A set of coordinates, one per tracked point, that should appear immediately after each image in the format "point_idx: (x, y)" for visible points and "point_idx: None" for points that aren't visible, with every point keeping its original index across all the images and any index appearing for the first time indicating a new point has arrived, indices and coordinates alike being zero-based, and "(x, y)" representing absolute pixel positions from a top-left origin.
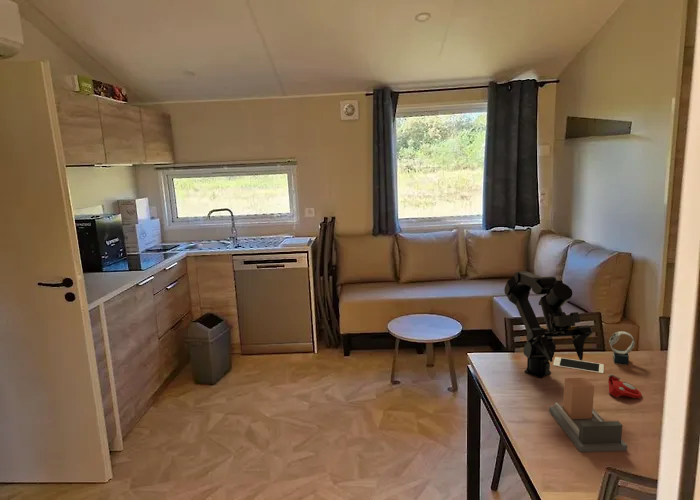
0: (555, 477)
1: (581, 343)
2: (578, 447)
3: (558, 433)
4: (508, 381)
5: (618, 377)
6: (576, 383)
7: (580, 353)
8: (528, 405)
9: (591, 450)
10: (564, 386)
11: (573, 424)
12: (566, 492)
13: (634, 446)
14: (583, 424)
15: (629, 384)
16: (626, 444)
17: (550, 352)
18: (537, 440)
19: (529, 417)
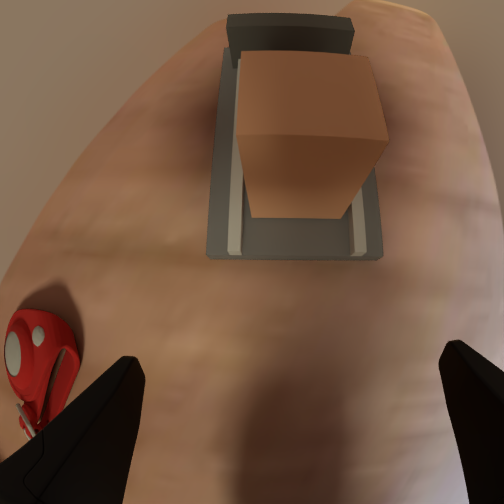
0: (411, 26)
1: (23, 477)
2: None
3: None
4: (425, 487)
5: (18, 409)
6: (334, 77)
7: (108, 396)
8: (433, 308)
9: None
10: (372, 166)
11: None
12: (397, 5)
13: (195, 72)
14: (346, 23)
15: (8, 360)
16: (224, 50)
17: (497, 391)
18: (439, 114)
19: (448, 224)
